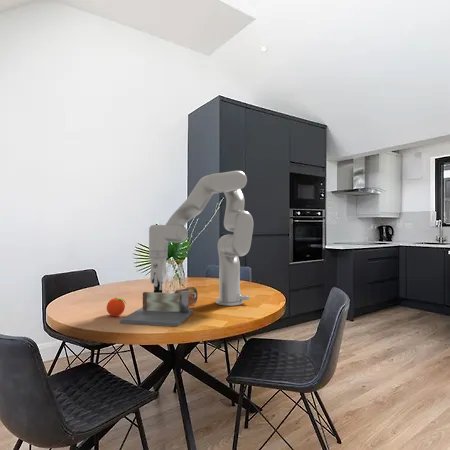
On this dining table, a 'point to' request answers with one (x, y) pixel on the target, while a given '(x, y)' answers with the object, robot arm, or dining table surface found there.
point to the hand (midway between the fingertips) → (158, 299)
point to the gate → (161, 301)
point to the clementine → (116, 306)
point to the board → (156, 317)
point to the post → (184, 302)
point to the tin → (189, 295)
